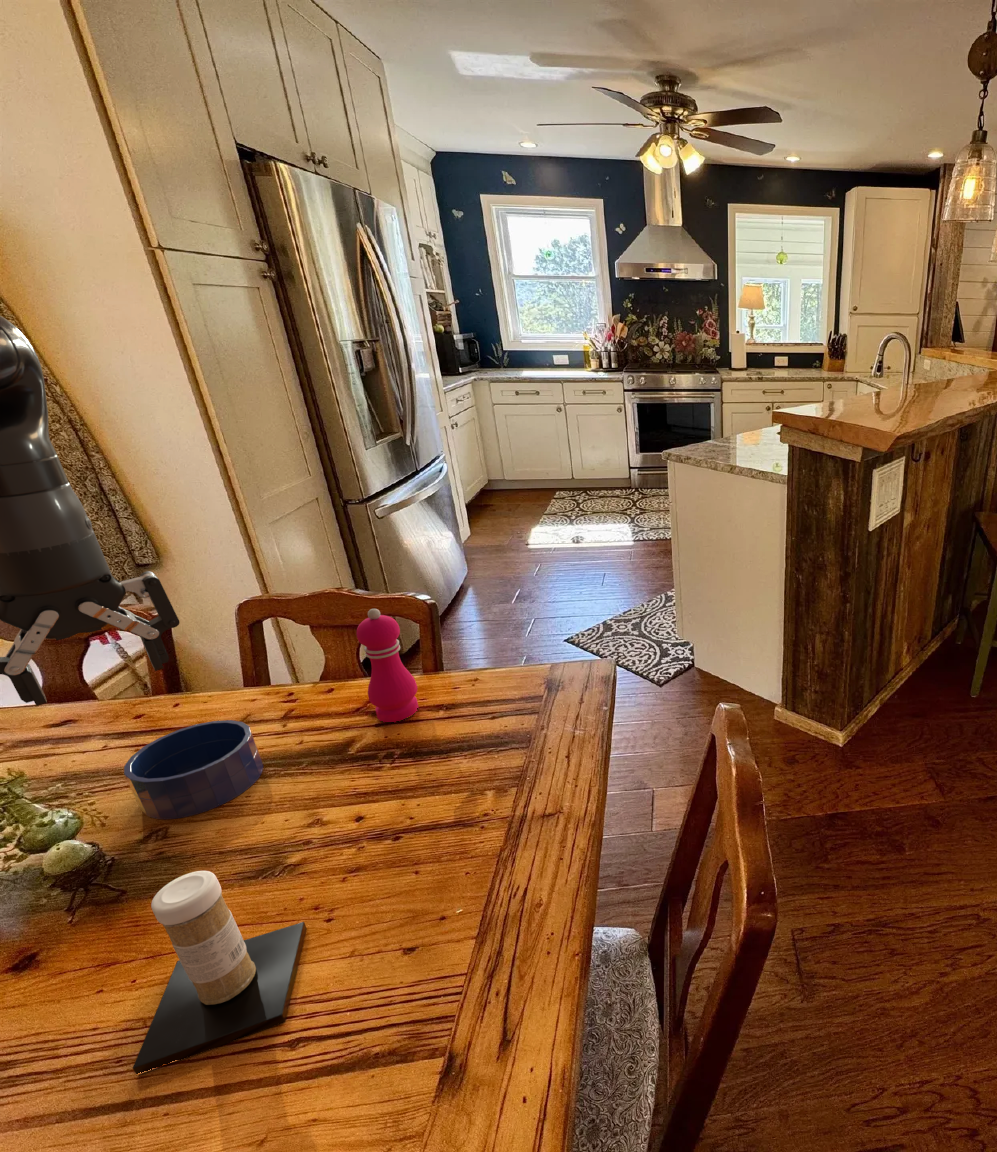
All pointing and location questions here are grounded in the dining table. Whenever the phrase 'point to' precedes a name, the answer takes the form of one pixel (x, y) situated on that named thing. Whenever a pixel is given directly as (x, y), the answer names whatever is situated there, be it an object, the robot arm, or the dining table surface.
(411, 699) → the pepper mill
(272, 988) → the plate
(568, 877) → the dining table surface
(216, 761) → the bowl
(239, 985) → the sprinkles bottle
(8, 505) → the robot arm
